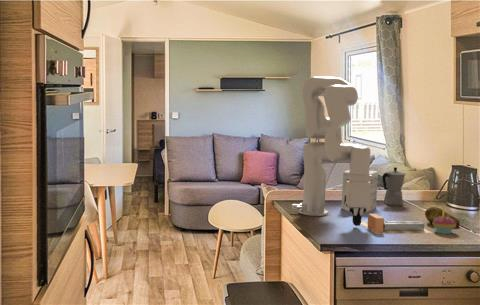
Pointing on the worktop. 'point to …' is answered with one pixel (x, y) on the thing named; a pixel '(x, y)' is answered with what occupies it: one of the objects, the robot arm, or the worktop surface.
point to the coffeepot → (393, 187)
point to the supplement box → (373, 187)
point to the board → (393, 231)
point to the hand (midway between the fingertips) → (356, 224)
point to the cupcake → (444, 223)
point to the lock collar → (375, 222)
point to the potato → (438, 215)
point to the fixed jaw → (403, 226)
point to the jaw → (403, 222)
